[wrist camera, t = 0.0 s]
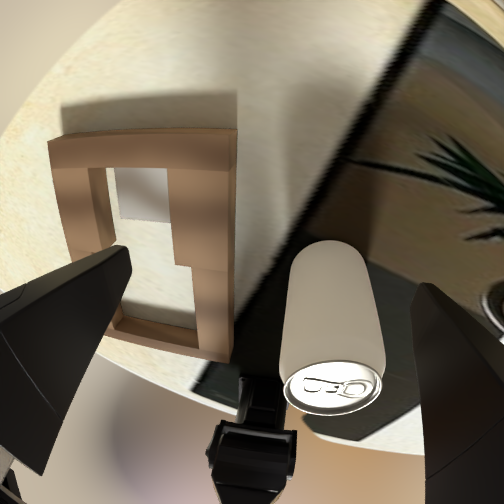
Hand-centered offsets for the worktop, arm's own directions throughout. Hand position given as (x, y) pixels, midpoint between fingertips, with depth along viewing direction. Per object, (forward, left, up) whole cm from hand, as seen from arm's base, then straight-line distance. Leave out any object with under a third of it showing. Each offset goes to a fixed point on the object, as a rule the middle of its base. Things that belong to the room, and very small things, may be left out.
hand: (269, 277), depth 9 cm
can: (-9, -4, -15) cm, 18 cm away
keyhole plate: (-9, +12, -15) cm, 21 cm away
